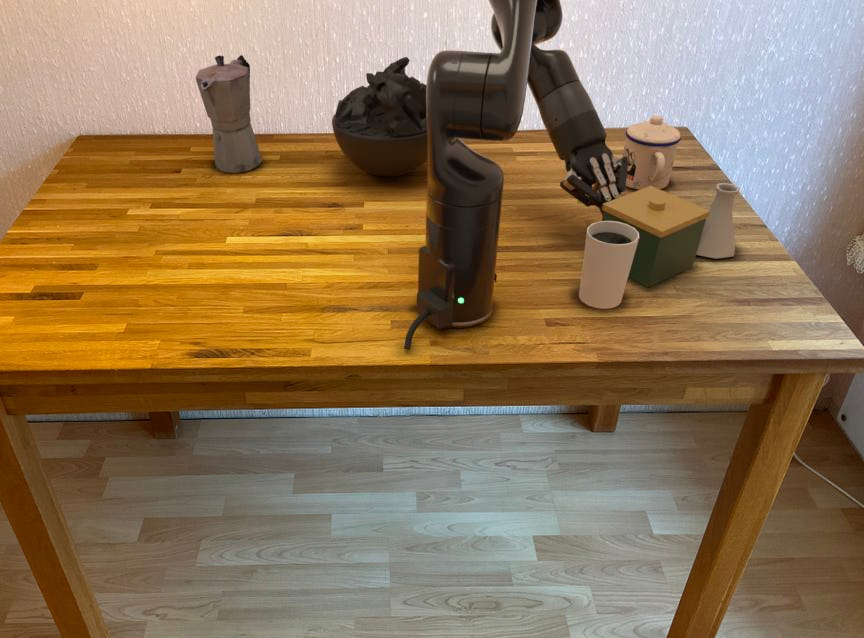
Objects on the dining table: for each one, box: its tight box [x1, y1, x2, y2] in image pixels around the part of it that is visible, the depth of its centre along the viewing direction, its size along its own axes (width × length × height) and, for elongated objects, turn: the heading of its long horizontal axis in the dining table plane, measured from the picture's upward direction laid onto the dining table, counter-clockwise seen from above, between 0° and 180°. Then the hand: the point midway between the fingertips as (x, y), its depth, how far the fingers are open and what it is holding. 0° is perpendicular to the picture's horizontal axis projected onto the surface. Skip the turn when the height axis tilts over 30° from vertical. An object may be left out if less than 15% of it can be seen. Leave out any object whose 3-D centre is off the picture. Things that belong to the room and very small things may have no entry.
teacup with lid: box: [621, 114, 682, 191], centre depth 127 cm, size 12×9×12 cm
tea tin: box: [601, 186, 710, 288], centre depth 106 cm, size 10×10×10 cm
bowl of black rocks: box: [331, 56, 427, 178], centre depth 131 cm, size 20×20×19 cm
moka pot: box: [195, 54, 263, 174], centre depth 134 cm, size 10×15×20 cm, turn 163°
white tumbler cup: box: [578, 220, 639, 310], centre depth 99 cm, size 7×7×10 cm
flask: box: [696, 182, 740, 260], centre depth 110 cm, size 7×7×10 cm
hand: (618, 225), depth 111 cm, fingers closed
